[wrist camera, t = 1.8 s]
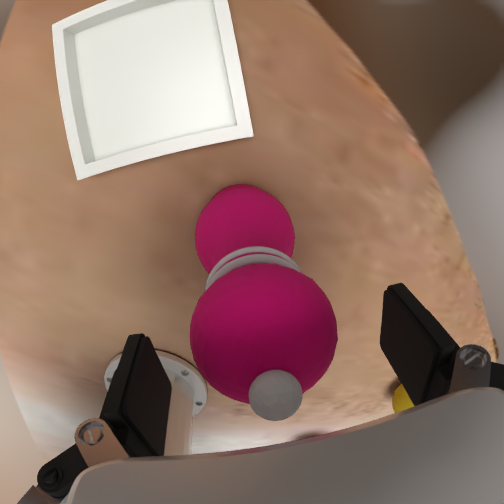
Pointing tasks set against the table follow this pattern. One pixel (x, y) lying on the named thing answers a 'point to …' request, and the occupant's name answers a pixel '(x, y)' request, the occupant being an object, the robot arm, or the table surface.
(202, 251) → the pepper mill
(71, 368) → the table surface
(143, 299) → the table surface
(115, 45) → the tray
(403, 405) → the lemon
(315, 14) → the table surface
